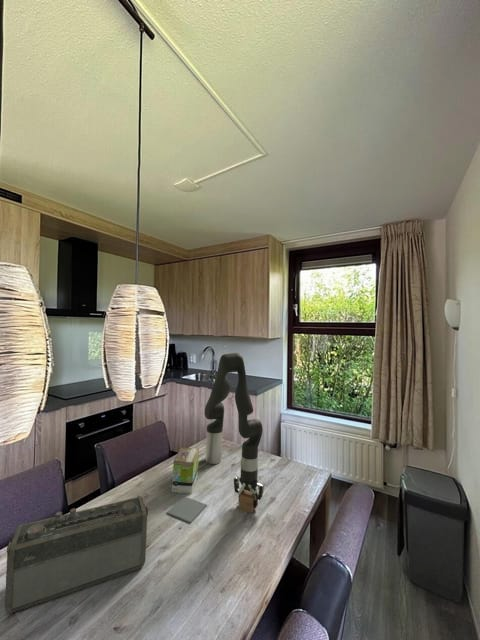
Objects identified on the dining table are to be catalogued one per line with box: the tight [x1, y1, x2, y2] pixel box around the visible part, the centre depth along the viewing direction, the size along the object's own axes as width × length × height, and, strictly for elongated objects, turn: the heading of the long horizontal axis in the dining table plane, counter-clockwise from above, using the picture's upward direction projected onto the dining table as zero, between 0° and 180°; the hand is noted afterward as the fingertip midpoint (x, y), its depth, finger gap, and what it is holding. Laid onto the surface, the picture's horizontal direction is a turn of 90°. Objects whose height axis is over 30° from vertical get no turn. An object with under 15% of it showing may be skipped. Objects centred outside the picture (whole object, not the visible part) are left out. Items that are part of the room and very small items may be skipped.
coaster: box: [166, 496, 208, 524], centre depth 119 cm, size 12×12×1 cm
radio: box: [4, 495, 149, 614], centre depth 88 cm, size 38×14×20 cm, turn 117°
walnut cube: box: [238, 490, 256, 514], centre depth 122 cm, size 6×6×6 cm
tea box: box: [171, 447, 200, 494], centre depth 137 cm, size 15×10×15 cm, turn 179°
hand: (247, 504), depth 122 cm, fingers closed on walnut cube, 6 cm apart
